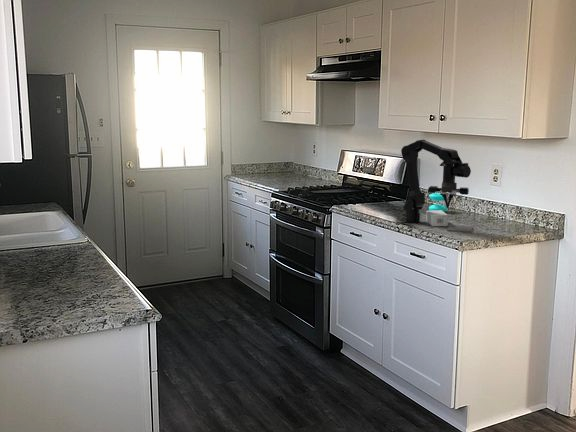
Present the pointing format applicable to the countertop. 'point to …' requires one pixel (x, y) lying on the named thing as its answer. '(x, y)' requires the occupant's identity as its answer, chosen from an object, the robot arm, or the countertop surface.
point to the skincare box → (437, 218)
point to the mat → (460, 228)
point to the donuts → (437, 198)
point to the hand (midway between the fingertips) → (447, 207)
